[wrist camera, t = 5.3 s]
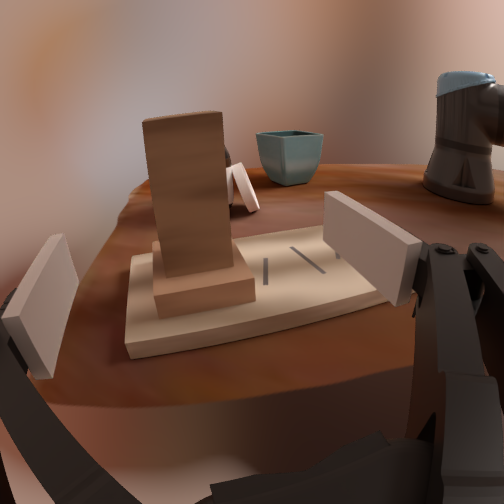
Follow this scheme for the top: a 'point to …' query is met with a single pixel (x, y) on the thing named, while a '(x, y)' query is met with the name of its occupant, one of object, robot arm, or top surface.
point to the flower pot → (289, 155)
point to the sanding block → (193, 217)
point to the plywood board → (266, 289)
